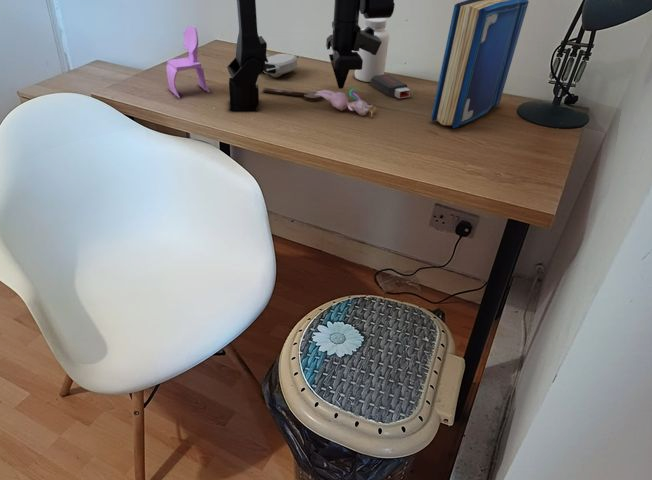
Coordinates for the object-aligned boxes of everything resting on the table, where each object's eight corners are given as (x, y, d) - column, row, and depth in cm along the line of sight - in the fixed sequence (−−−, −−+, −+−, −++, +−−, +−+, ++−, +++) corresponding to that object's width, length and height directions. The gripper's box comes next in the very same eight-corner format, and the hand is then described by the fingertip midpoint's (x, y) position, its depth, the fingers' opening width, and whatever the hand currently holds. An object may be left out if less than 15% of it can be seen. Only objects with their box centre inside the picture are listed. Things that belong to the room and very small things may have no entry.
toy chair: (166, 89, 135) (158, 26, 126) (198, 83, 139) (193, 22, 129) (178, 99, 130) (170, 35, 120) (211, 93, 133) (206, 30, 124)
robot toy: (235, 76, 146) (281, 82, 139) (234, 59, 143) (280, 64, 137) (260, 64, 154) (304, 70, 148) (259, 48, 152) (304, 53, 145)
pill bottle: (382, 84, 141) (390, 23, 131) (352, 81, 142) (358, 21, 132) (384, 74, 147) (392, 15, 137) (355, 72, 148) (361, 13, 138)
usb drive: (386, 82, 142) (388, 71, 140) (412, 97, 133) (414, 86, 131) (370, 84, 140) (371, 74, 138) (395, 100, 131) (396, 89, 130)
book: (477, 99, 133) (504, -12, 117) (503, 107, 129) (534, -7, 113) (428, 122, 121) (451, 2, 105) (455, 132, 117) (484, 8, 101)
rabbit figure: (375, 116, 127) (318, 96, 130) (382, 92, 123) (323, 72, 126) (367, 125, 122) (309, 104, 125) (374, 101, 118) (314, 80, 121)
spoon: (260, 94, 133) (260, 90, 132) (266, 89, 136) (266, 84, 136) (318, 102, 130) (319, 97, 129) (323, 96, 133) (323, 91, 132)
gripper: (389, 30, 113) (380, 102, 123) (373, 10, 128) (366, 75, 138) (337, 30, 113) (332, 102, 122) (328, 9, 127) (324, 75, 137)
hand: (340, 88), depth 130 cm, fingers closed
